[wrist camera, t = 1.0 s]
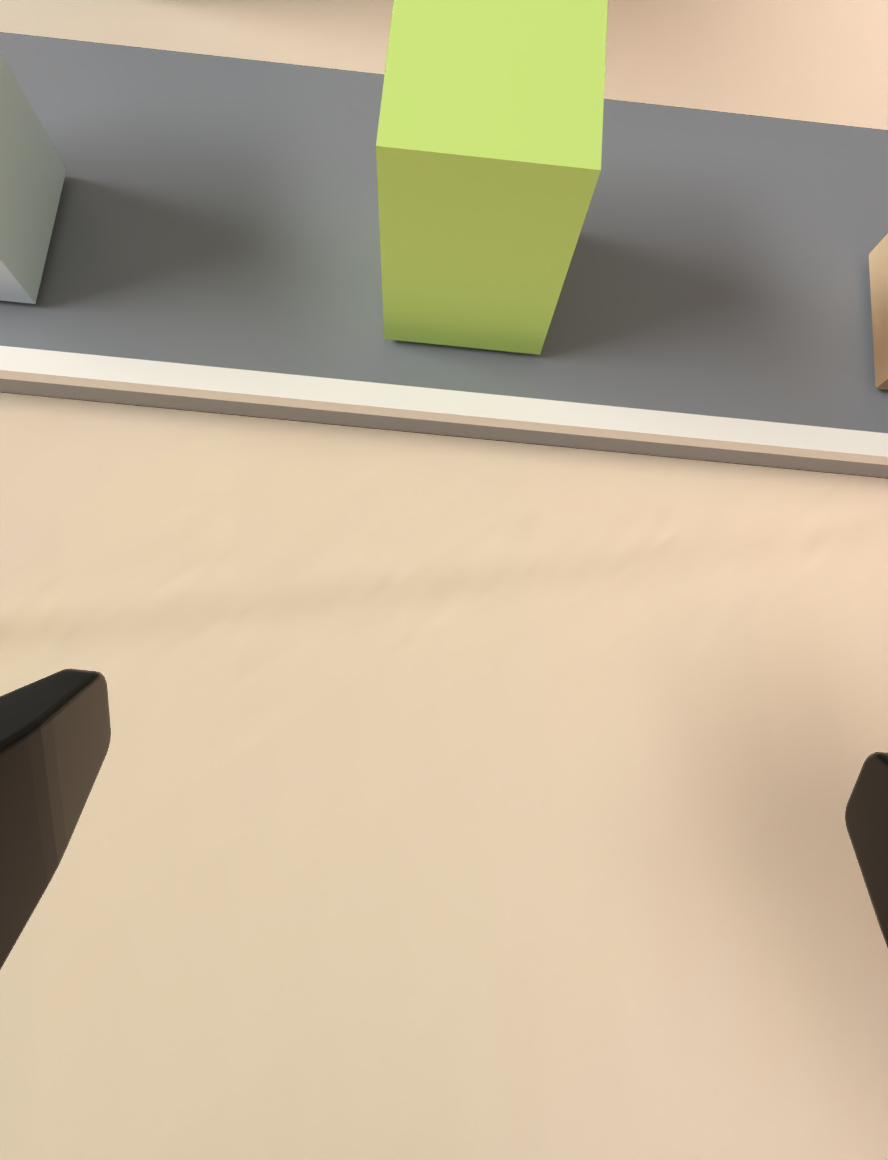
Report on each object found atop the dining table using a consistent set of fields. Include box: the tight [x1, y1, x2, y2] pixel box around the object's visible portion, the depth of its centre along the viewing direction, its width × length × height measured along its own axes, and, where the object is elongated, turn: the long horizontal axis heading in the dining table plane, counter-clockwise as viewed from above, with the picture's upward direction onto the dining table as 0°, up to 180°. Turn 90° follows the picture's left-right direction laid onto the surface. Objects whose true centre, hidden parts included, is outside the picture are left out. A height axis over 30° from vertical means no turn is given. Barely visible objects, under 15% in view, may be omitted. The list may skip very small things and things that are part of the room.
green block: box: [376, 0, 608, 355], centre depth 22 cm, size 5×5×8 cm
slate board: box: [0, 32, 888, 478], centre depth 27 cm, size 13×40×2 cm, turn 85°
